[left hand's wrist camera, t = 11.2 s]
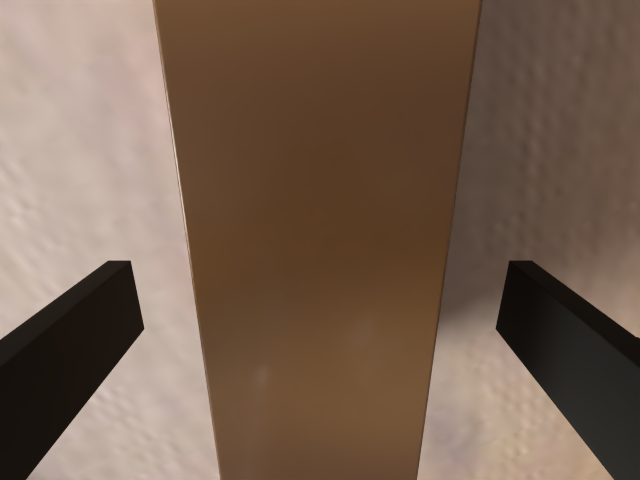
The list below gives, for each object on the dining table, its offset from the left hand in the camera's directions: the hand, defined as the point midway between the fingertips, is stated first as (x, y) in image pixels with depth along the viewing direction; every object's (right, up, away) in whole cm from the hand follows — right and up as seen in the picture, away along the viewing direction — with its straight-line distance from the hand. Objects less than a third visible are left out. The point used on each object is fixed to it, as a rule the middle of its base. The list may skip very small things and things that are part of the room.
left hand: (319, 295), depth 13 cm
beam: (0, +24, -5) cm, 24 cm away
